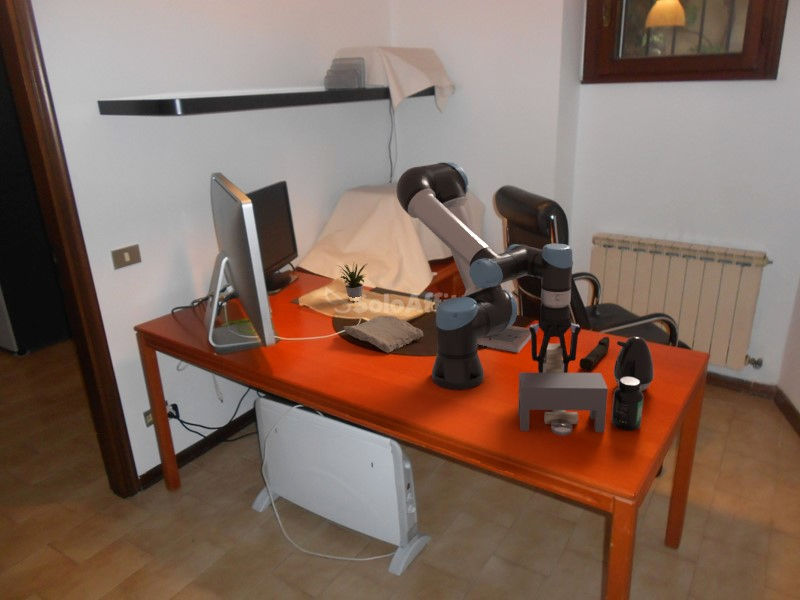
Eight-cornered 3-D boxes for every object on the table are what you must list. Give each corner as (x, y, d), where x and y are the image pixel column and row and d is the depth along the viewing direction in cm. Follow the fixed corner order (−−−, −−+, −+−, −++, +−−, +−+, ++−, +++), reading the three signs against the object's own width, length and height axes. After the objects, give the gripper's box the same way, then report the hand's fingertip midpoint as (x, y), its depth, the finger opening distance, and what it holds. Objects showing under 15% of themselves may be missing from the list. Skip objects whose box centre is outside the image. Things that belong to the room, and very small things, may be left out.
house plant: (330, 306, 239) (326, 266, 233) (339, 294, 251) (336, 257, 246) (365, 306, 236) (362, 266, 231) (372, 294, 249) (370, 257, 244)
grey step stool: (520, 430, 148) (521, 387, 144) (518, 414, 155) (519, 372, 151) (604, 432, 145) (607, 388, 141) (597, 415, 153) (600, 373, 149)
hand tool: (591, 372, 175) (592, 358, 174) (578, 369, 178) (579, 355, 176) (616, 350, 189) (617, 336, 187) (604, 347, 191) (605, 334, 190)
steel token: (551, 435, 145) (552, 429, 145) (550, 424, 150) (550, 418, 149) (573, 435, 145) (573, 430, 144) (570, 424, 149) (570, 419, 149)
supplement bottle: (645, 430, 145) (650, 386, 141) (618, 432, 145) (622, 388, 141) (632, 415, 152) (636, 373, 148) (606, 418, 151) (610, 375, 147)
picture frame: (456, 343, 201) (518, 354, 190) (456, 336, 200) (518, 347, 189) (476, 326, 214) (534, 335, 203) (475, 319, 213) (534, 328, 203)
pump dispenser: (605, 380, 170) (609, 331, 165) (641, 377, 170) (646, 328, 165) (621, 398, 160) (625, 346, 155) (658, 394, 161) (664, 343, 156)
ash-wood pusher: (544, 423, 150) (546, 375, 145) (536, 386, 168) (537, 342, 164) (577, 424, 149) (580, 375, 145) (565, 386, 167) (567, 342, 163)
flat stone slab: (380, 360, 192) (426, 337, 203) (377, 339, 189) (423, 317, 200) (338, 341, 210) (382, 321, 221) (334, 322, 207) (379, 302, 218)
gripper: (523, 308, 154) (521, 389, 162) (591, 307, 152) (586, 389, 160) (521, 298, 161) (519, 376, 169) (586, 297, 159) (581, 376, 167)
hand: (552, 382), depth 165 cm, fingers closed on ash-wood pusher, 4 cm apart
